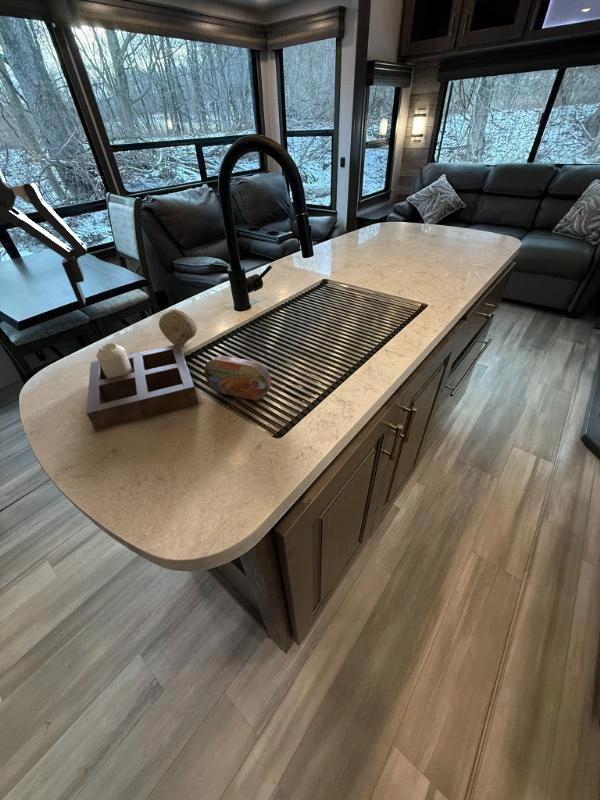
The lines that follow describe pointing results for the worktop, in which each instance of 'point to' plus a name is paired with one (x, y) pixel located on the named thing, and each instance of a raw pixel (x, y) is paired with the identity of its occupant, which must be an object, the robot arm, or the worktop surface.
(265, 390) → the tin
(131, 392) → the rack
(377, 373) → the worktop surface
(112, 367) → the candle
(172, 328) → the natural sponge
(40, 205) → the robot arm
